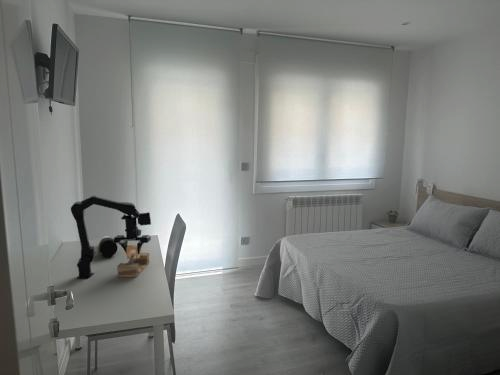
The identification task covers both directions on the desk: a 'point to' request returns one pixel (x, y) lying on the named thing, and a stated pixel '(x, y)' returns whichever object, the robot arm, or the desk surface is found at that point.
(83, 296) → the desk surface
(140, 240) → the robot arm
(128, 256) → the tan u-shaped bracket
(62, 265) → the desk surface
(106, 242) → the black cylinder
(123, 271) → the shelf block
